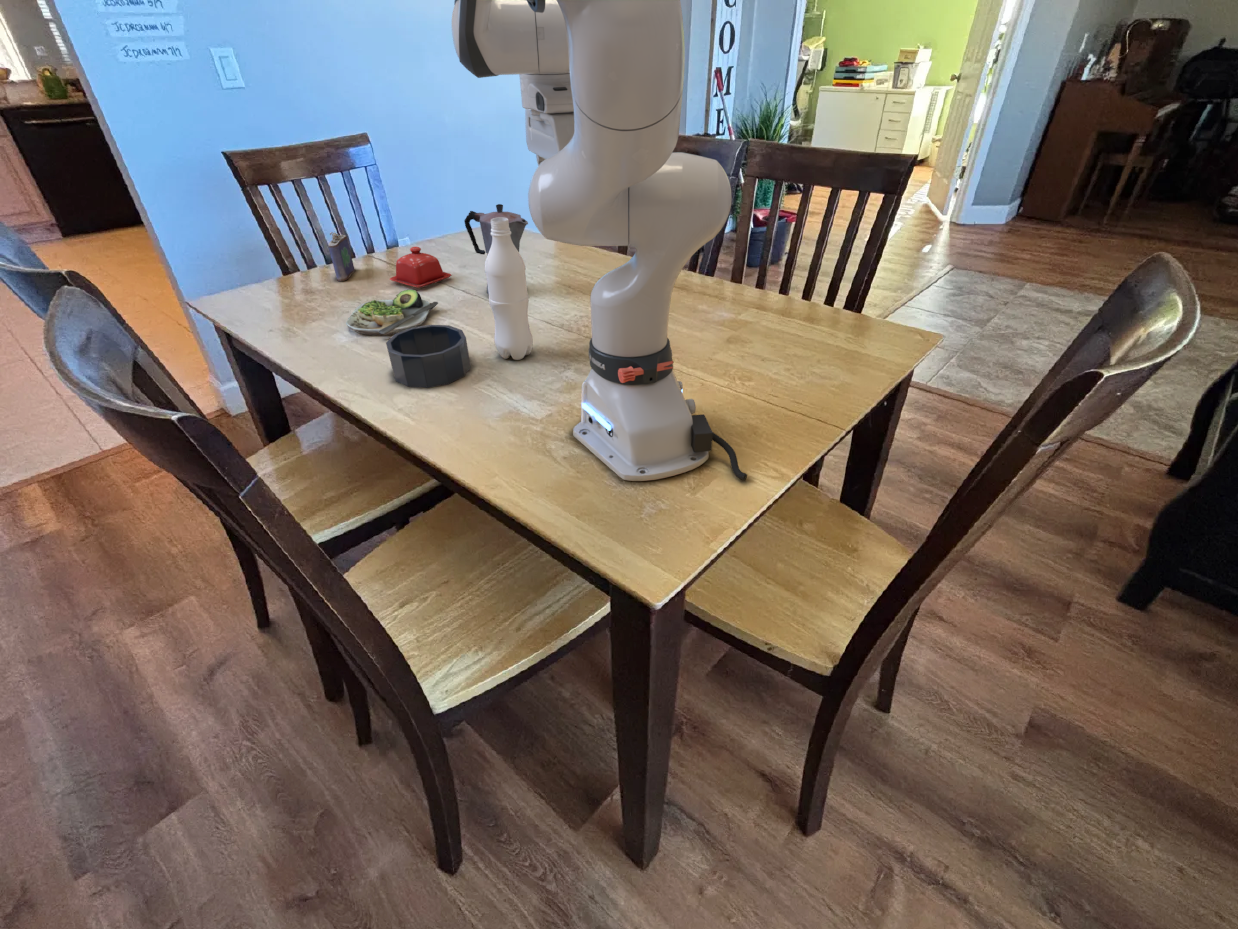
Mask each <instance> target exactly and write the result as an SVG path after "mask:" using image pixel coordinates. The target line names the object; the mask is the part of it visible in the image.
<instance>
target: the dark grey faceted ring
mask: <svg viewBox="0 0 1238 929" xmlns="http://www.w3.org/2000/svg"><path fill="white" fill-rule="evenodd" d="M385 344H386V348H387V354H388V356H389V361H390V363H391V370H392V373H393V378H394V381H395V382H396V383H398V384H401V385H403V386H405V387H407V388H422V389H423V388H424V389H428V388H429V389H430V388H434V387H440V386H444V385H449V384H452V383H454V382H455V381H457V380H460V379H462V378H464V377H466V375H467V374H468V372H469V370H470V369H471V368H472V366H471V359H470V354H469V348H468V341H467V336H466V335H465V333H464V331H463V330H462V329H461V328H457V327H455V326H452V325H447V324H446V325H445V324H427V325H419V326H417V327H413V328H409V329H407V330H404V331H402V332H399V333H396V334H392V336H391V337H390V338H389V339H388V340H387V341H386V342H385Z"/></svg>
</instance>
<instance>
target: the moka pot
mask: <svg viewBox="0 0 1238 929" xmlns="http://www.w3.org/2000/svg"><path fill="white" fill-rule="evenodd" d="M495 208H496V211H491V212H488V213H485V212H477V211H473V210H469V212H468V214H467V215H466V218H464V220H463V221H464V226H465V229H466V231H467V233H468V236H469V238H470V241H471V242H472V246H473V249H474V252H475V254H479V255H482V256H483V255H484V256H485V254H486V257H487V256H488V253H489V250H490V248H491V245H492V236H491V232H492V231H491V229H492V228H491V219H493V218H501V217H502V218H507V219H508V222H509V228H510V231H511V235H510V236H511V240H512V242H513V244H514V246H515V247H516V249H517V250H518V252H519V253H520V243H521V239H522V237H523V234H524V232H525V228H526V226H527V225H529V221H528V220H527V219H525V218H523V217H522V215H521V214H518V213H515V212H511V211H503V210H504V204H501V203H498V204H496V205H495ZM472 220H474V221H475V223H479V225H480V231H481V236H482V239H483V245H484V249H480V246H479V245H478V243H477V239H476V236H475V233H474V231H473V228H472V226H471V223H470V222H471V221H472ZM486 294H487V295H488V296H489V292H488V285H487V284H486Z"/></svg>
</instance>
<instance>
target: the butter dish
mask: <svg viewBox="0 0 1238 929" xmlns="http://www.w3.org/2000/svg"><path fill="white" fill-rule="evenodd" d="M421 250H422V248H421V247H420V246H412V247H410V249H409V251H410V252H411V253H407V254H405V255H403V256H400V257H399V258H398V259H397V260H396V262H395V275H394V276H391V277H390V278H389V281H392V282H395V283H399V284H402V285H406V286H409V287H413V288H417V289H421V288H425V287H428V286H430V285H433V284H436V283H439V282H443V280H445V279H448V278H451V277H452V274H451V273H449V272H445V271H443V268H442V265H441V263H440V261H439V259H438V258H437V257H436V256H434V255H432V254H429V253H426V252H421Z"/></svg>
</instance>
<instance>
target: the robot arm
mask: <svg viewBox="0 0 1238 929" xmlns="http://www.w3.org/2000/svg"><path fill="white" fill-rule="evenodd" d="M453 3H454V5H453V9H452V15H451V38H452V44H453V47H454V50H455V53H456V55H457V58H458V59H459V63H460V64H461V65H463V67H464V68H465V69H466V70H467V71H468V72H470V73H471V74H472V75H473V76H475V77H476V78H477V79H481V78H482V79H483V78H490V77H498V76H506V75H507V76H509V75H510V76H511V75H512V76H513V75H517V76H519V88H520V98H521V107H522V108H523V109H524V125H525V141H526V146H527V150H528V151H529V152H531V153H533V154H535V155H536V156H535V157H536V162H537V167H536V169H535V171H534V172H533V174H532V176H531V179H530V182H529V185H528V192H527V204H528V210H529V214H530V217H531V220H532V222H533V223H534V225H535V228H537V231H539V233H540V234H541V235H542V236H543V237H544V238H545V239H546V240H549V241H554V242H558V243H561V244H562V243H563V244H567V245H573V246H578V247H632V248H634V249H635V252H634V254H633V255H632V257H631V258H630V259H629V260H628V261H627V262H625V263H623V264H622V265H620V266H618V267H615V268H614V269H612V270H610V271H608V272H606V273H605V274H603V276H601V277H600V278H599V279H598V280H597V281H596V282H595V284H594V285H593V287H592V289H591V292H590V296H589V300H590V301H589V302H590V304H589V305H590V323H591V324H590V325H591V338H590V339H589V341H588V359H589V366H590V370H589V372H588V374H587V375H586V376H587V377H586V378H585V379H584V381H583V382H582V384H581V400H580V401H581V403H580V406H581V407H580V416H581V417H580V421H579V422H578V423H576V425H575V426H574V427H573V430H572V431H573V432H572V436H573V437H574V438H575V439H576V440H577V441H578V442H579V443H581V444H582V445H583V446H584V447H585V448H586V449H588V451H590V452H591V453H592V454H593V455H594V456H595V457H596V458H597V459H599V461H601V462H602V463H604V464H605V466H606V467H608V468H609V469H610V470H611V471H612V472H613V473H615V474H616V475H617V476H618V477H619V478H620V479H622V480H624V481H632V482H645V481H647V482H649V481H655V480H661V479H665V478H670V477H674V476H677V475H681V474H684V473H686V472H687V473H688V472H689V471H692V470H694V469H697V468H698V467H700V466H701V465H703V464H704V463H706V462H707V461H708V459H709V458H710V457H709V452H712V449H713V442H714V443H715V444H717V445H718V446H720V447H721V448H722V449H723V450H724V451H725V452H726V454H727V455H728V457H729V462H730V463H729V464H730V468H731V471H732V473H733V475H734V476H735V477H736V478H737V479H740V480H742V481H746V479H747V478H748V474H747V473H745V472H742V470H741V469H740V466H739V463H738V458H737V454H736V451H735V450H734V448H733V447H732V446H731V444H729V443H728V442H727V441H726V440H725V439H723V438H722V437H721V436H719V435H718V434H717V433H715V432H714V431H713V430H712V428H711V426H710V424H709V422H708V420H707V417H706V415H705V414H703V413H702V414H696V412H697V408H696V407H697V406H696V402H695V399H693V398H687V399H685V398H686V397H685V396H684V392H683V390H684V388H683V386H684V385H683V381H682V380H678V379H677V377H676V374H675V373H674V360H673V350H672V347H671V340H670V338H669V337H668V336H669V335H668V334H669V318H670V309H671V304H672V303H671V302H672V297H673V296H672V295H673V291H674V287H675V285H676V283H677V279H678V278H679V276H680V273H681V272H682V270H683V269H684V267H685V265H687V263H688V261H689V260H690V259H691V257H693V256H694V254H696V252H698V250H700V249H701V248H702V247H703V246H705V245H706V244H707V243H709V242H710V241H713V239H714V238H715V237H717V235H718V234H719V233H720V231H721V230H722V229H723V228H724V226H725V224H726V223H727V220H728V217H729V215H730V213H731V212H730V211H731V206H732V197H733V196H732V188H731V183H730V180H729V177H728V174H727V173H726V170H725V169H724V167H723V166H722V165H721V163H720V162H719V161H718V160H717V159H714V158H710V157H706V156H701V155H697V154H692V153H686V152H680V151H679V152H676V151H675V152H674V150H675V148H676V146H677V144H678V141H679V135H680V129H681V128H680V126H681V117H682V104H683V96H684V95H683V93H684V84H685V83H684V82H685V69H686V68H685V67H686V65H685V64H686V63H685V62H686V48H685V47H686V46H685V45H686V42H685V29H684V28H685V27H684V19H683V10H682V3H681V0H454V2H453Z"/></svg>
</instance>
